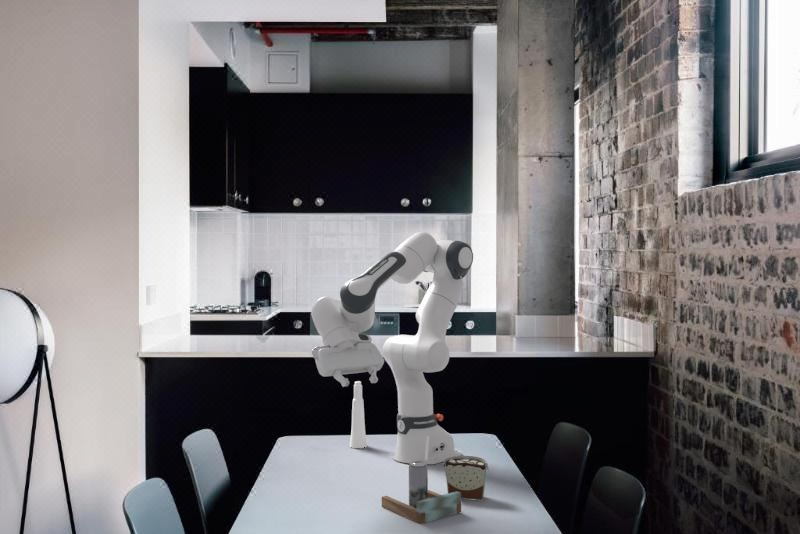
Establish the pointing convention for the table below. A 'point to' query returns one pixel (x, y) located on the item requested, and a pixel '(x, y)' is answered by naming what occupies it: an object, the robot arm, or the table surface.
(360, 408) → the cosmetic bottle
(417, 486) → the drinking glass
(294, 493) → the table surface
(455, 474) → the food container
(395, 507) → the keeper cradle
